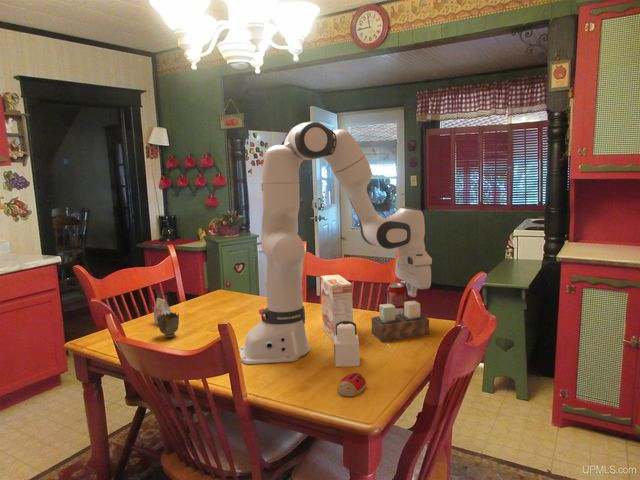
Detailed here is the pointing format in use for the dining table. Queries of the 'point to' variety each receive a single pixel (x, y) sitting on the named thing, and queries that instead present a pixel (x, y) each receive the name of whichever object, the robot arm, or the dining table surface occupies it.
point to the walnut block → (400, 327)
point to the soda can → (396, 297)
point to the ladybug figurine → (351, 385)
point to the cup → (168, 324)
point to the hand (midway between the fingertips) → (412, 295)
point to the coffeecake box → (335, 302)
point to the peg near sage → (387, 312)
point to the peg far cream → (412, 309)
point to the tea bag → (160, 308)
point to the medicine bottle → (346, 345)
